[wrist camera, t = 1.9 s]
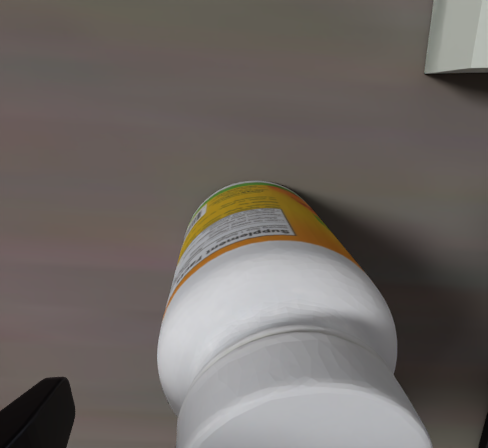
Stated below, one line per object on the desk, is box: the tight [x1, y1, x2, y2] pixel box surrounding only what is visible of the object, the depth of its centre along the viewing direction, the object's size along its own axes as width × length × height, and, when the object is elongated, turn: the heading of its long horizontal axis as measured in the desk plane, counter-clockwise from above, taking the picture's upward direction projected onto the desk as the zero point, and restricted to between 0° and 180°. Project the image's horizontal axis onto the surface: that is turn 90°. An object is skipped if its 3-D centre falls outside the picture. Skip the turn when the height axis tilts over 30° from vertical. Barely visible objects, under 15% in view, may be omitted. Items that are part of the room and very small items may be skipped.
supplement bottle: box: [157, 181, 433, 448], centre depth 10 cm, size 5×5×10 cm
